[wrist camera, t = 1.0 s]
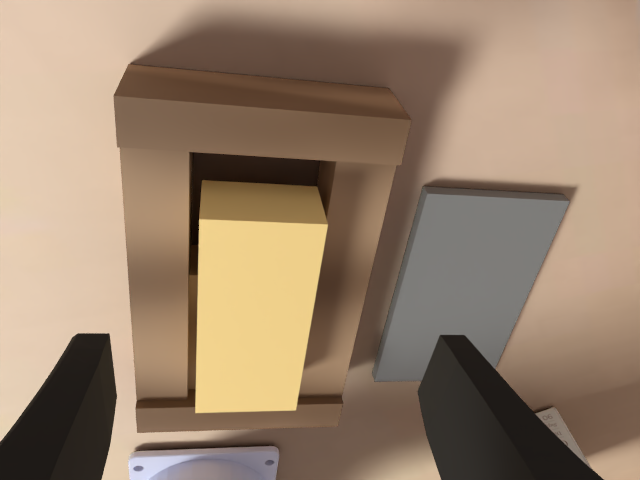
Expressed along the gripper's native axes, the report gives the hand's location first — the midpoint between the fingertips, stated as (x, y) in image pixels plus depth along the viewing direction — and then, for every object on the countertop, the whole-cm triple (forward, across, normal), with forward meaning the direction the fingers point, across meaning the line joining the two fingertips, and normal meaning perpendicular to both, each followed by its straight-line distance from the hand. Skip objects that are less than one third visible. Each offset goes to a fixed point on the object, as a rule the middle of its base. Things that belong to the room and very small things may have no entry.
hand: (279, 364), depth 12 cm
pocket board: (+10, 0, +5) cm, 11 cm away
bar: (+8, 0, +5) cm, 10 cm away
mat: (+10, -10, +7) cm, 16 cm away
